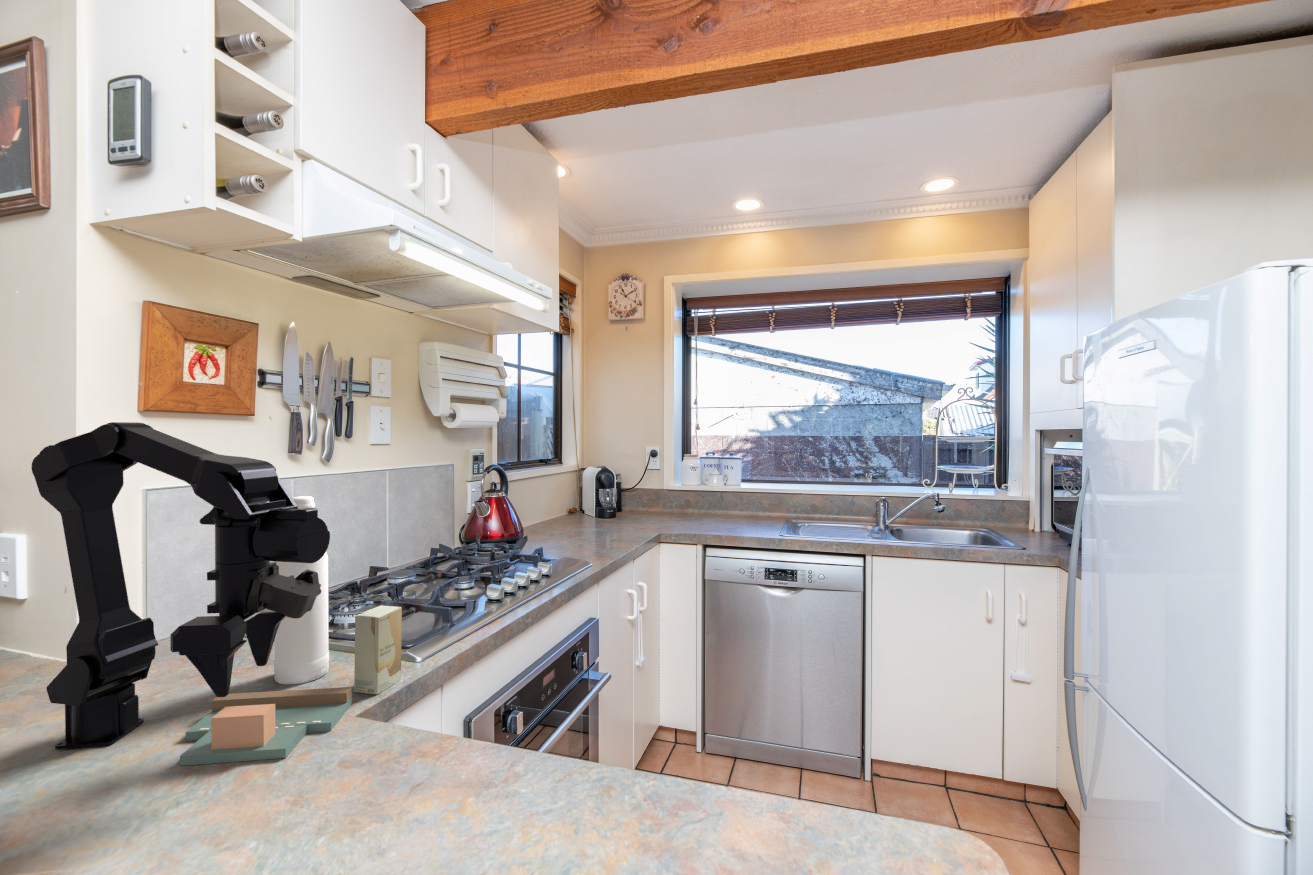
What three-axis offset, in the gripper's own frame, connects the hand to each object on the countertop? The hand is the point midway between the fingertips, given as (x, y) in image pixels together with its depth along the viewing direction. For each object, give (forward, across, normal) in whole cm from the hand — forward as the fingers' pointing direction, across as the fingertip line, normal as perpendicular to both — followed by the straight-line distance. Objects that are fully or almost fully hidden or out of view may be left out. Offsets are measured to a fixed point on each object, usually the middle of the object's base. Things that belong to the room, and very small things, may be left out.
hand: (243, 679), depth 75 cm
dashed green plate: (+9, +8, 0) cm, 12 cm away
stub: (+9, 0, 0) cm, 9 cm away
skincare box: (+10, +18, -11) cm, 23 cm away
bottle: (+10, +24, +3) cm, 26 cm away
